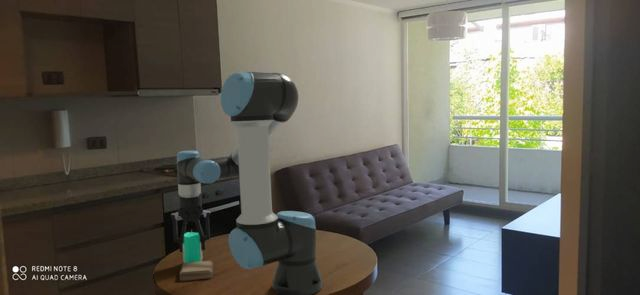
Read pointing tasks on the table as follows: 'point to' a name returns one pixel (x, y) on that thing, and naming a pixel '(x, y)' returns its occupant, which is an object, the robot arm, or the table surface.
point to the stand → (196, 270)
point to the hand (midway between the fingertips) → (192, 259)
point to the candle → (192, 247)
